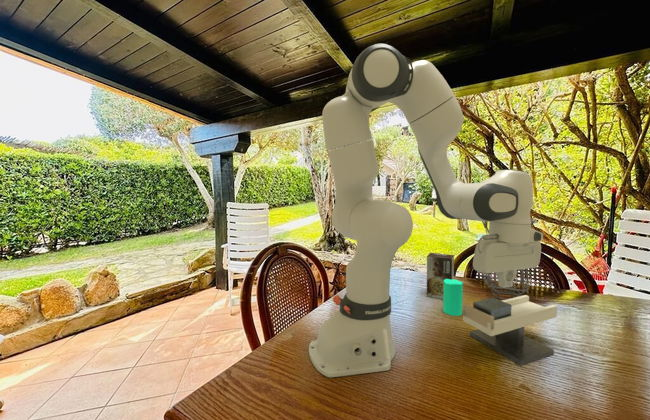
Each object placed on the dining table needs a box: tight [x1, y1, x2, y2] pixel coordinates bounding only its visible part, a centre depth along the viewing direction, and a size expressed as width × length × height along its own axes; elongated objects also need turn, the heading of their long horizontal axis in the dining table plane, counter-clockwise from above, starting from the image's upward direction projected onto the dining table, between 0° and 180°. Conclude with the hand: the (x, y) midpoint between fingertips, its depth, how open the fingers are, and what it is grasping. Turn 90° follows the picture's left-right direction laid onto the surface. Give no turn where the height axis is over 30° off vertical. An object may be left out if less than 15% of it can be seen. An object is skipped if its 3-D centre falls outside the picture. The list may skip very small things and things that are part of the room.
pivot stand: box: [469, 327, 555, 367], centre depth 71 cm, size 12×14×6 cm
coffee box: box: [426, 252, 455, 300], centre depth 103 cm, size 9×6×16 cm
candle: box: [442, 276, 464, 317], centre depth 90 cm, size 6×6×12 cm
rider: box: [472, 297, 511, 320], centre depth 68 cm, size 7×5×4 cm
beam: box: [462, 294, 558, 336], centre depth 70 cm, size 24×8×4 cm, turn 110°
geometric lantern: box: [481, 217, 538, 300], centre depth 102 cm, size 16×16×35 cm
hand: (505, 286), depth 69 cm, fingers closed
